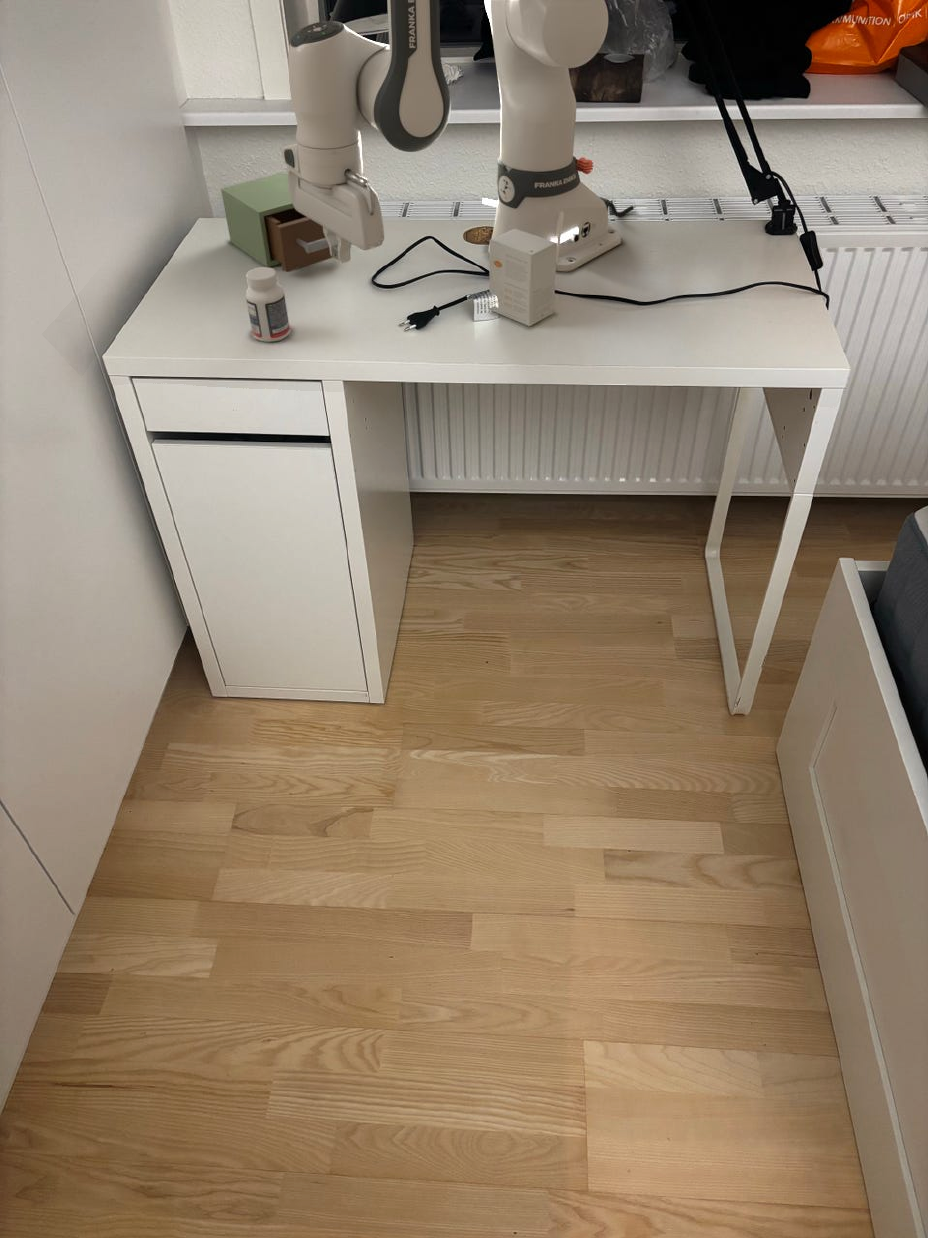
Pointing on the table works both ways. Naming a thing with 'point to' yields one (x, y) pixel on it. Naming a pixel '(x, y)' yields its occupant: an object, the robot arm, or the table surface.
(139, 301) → the table surface
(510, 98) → the robot arm
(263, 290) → the pill bottle
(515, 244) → the small box
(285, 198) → the cabinet
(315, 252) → the drawer
